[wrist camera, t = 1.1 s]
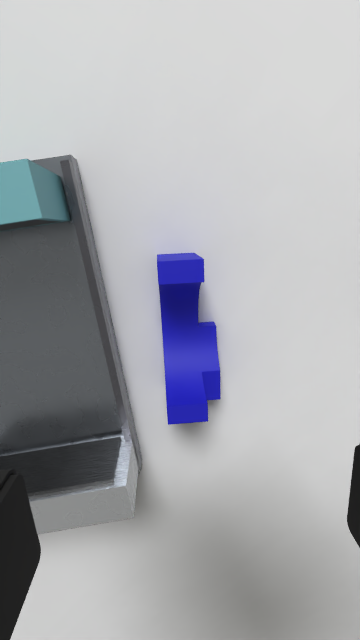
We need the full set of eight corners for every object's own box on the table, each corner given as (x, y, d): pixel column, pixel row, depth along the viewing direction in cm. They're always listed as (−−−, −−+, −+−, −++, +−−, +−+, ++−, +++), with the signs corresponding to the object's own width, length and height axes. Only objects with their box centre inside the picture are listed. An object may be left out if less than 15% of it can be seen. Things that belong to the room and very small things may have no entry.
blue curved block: (214, 382, 30) (227, 419, 24) (166, 386, 29) (168, 424, 24) (211, 251, 26) (226, 257, 20) (157, 254, 26) (157, 261, 20)
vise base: (76, 159, 24) (39, 128, 16) (141, 458, 31) (136, 528, 24) (-113, 187, 23) (-235, 168, 16) (-1, 482, 31) (-49, 559, 24)
